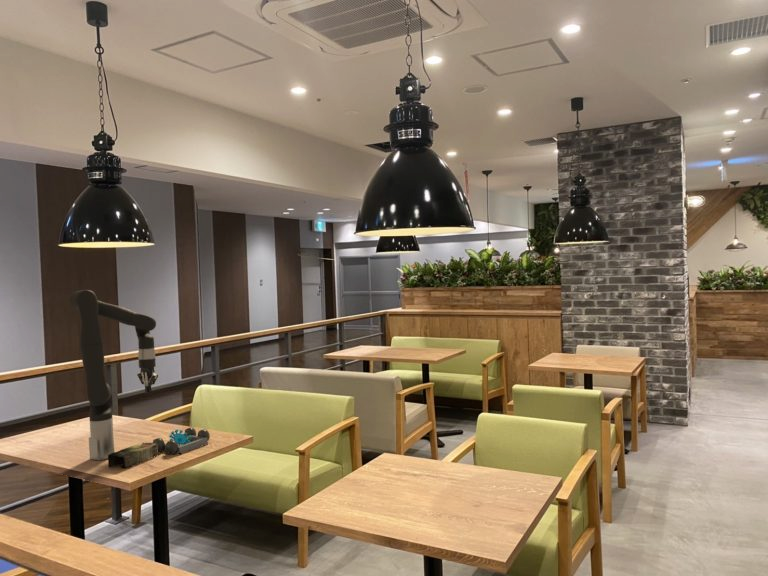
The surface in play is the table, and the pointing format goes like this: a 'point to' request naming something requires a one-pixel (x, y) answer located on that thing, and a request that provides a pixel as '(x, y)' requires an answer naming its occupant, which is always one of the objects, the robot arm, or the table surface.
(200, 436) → the chassis bay
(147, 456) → the dark green hollow block
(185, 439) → the gear
